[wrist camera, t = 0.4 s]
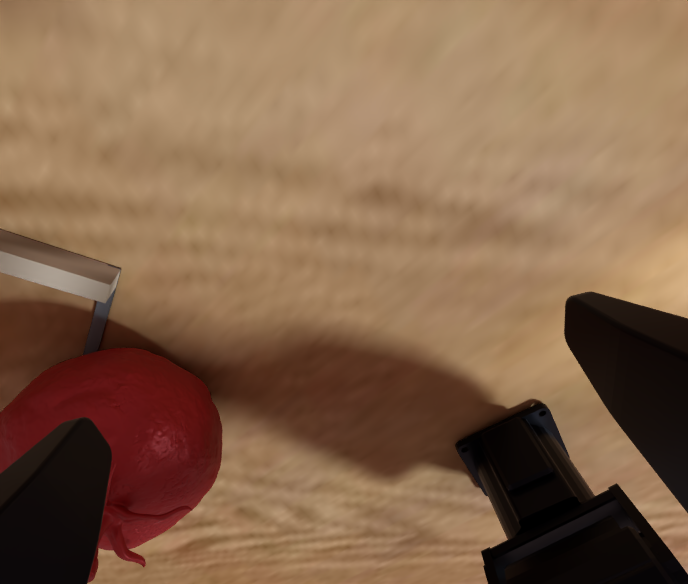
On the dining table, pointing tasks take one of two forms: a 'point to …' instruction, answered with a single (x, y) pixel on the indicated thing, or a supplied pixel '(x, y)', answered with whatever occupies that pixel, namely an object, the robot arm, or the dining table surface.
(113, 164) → the dining table surface
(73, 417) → the pomegranate
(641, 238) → the dining table surface
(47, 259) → the cradle
